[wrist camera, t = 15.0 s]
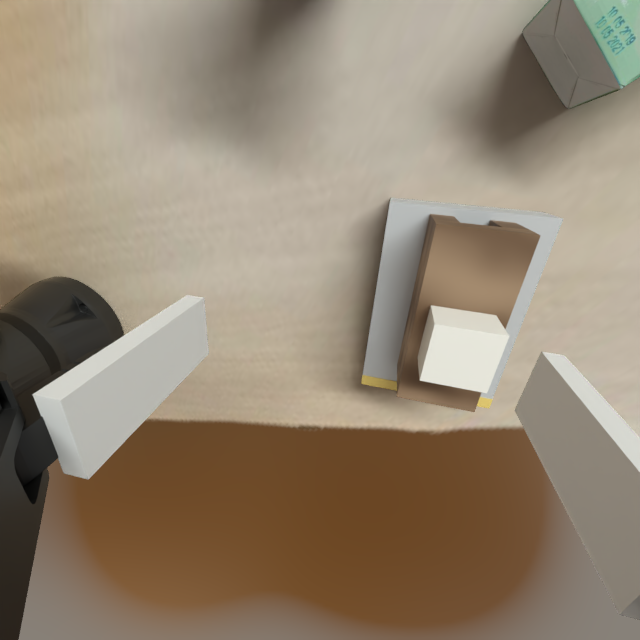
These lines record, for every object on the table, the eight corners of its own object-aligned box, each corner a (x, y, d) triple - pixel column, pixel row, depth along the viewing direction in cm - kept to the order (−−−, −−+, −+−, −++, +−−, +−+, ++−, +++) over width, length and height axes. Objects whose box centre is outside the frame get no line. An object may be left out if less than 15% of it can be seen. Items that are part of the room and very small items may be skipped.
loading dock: (364, 364, 41) (361, 383, 37) (391, 197, 32) (389, 201, 28) (480, 385, 39) (489, 408, 35) (544, 212, 30) (563, 218, 26)
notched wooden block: (463, 377, 34) (474, 412, 29) (397, 365, 35) (396, 396, 31) (515, 222, 27) (540, 235, 22) (429, 213, 28) (436, 223, 23)
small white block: (417, 357, 28) (419, 380, 25) (430, 305, 26) (434, 324, 23) (477, 367, 28) (487, 393, 24) (496, 315, 25) (509, 336, 22)
